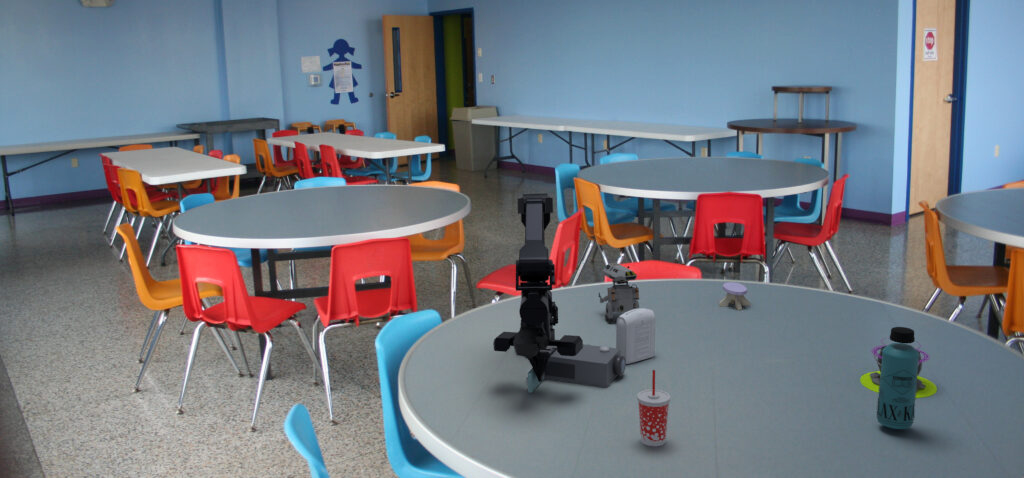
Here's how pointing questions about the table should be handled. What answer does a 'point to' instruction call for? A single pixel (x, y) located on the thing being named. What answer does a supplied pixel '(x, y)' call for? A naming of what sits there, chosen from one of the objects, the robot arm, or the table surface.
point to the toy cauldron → (923, 385)
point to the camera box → (587, 366)
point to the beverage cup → (653, 415)
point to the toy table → (734, 295)
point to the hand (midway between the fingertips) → (540, 381)
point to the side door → (532, 380)
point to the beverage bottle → (898, 380)
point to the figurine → (620, 291)
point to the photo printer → (636, 334)
